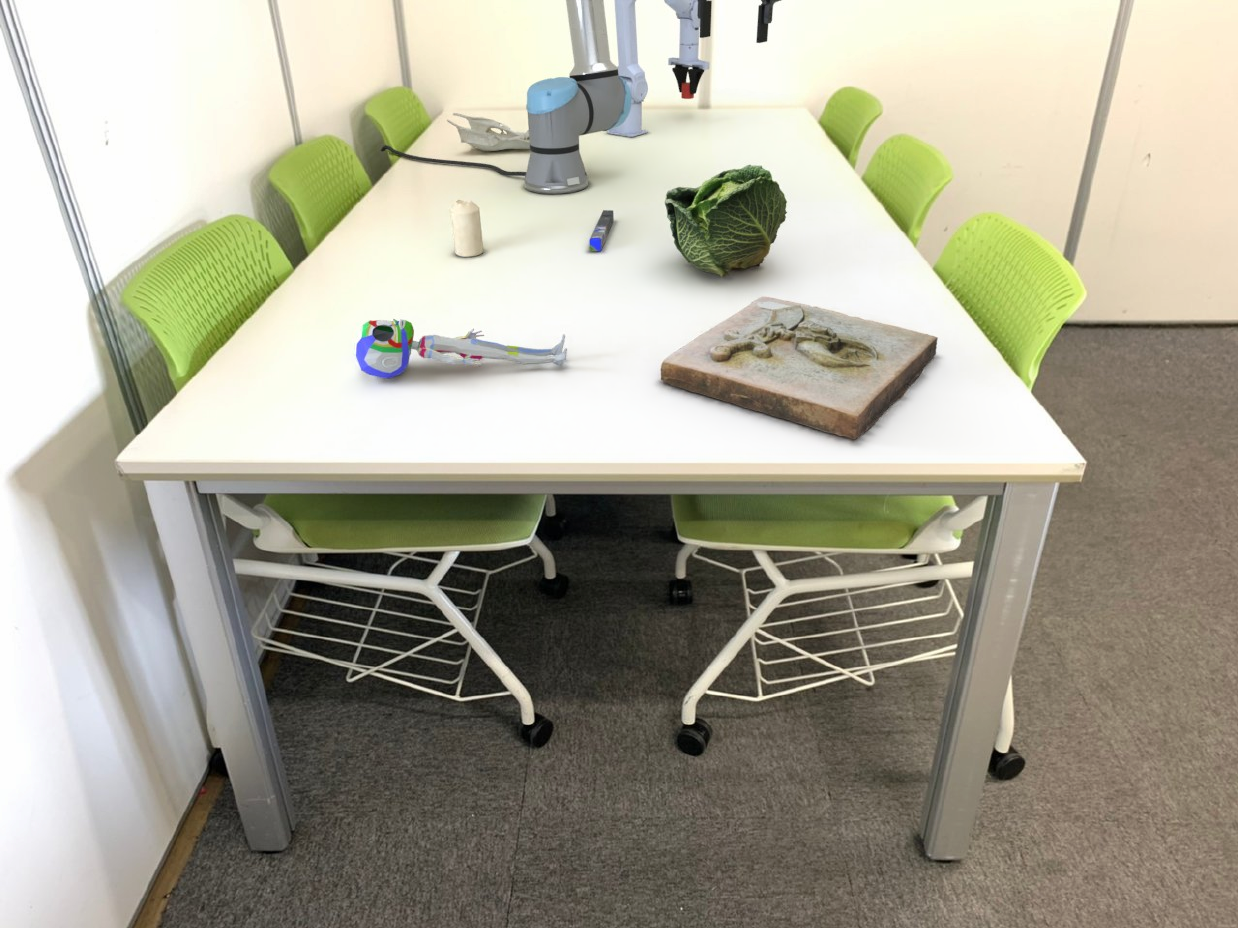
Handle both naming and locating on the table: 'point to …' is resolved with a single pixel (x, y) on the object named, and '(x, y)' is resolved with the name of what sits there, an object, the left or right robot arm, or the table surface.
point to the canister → (686, 91)
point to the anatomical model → (490, 135)
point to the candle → (466, 228)
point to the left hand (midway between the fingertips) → (732, 40)
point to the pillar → (601, 230)
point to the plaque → (803, 364)
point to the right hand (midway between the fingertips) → (687, 93)
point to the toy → (435, 349)
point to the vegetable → (727, 219)
